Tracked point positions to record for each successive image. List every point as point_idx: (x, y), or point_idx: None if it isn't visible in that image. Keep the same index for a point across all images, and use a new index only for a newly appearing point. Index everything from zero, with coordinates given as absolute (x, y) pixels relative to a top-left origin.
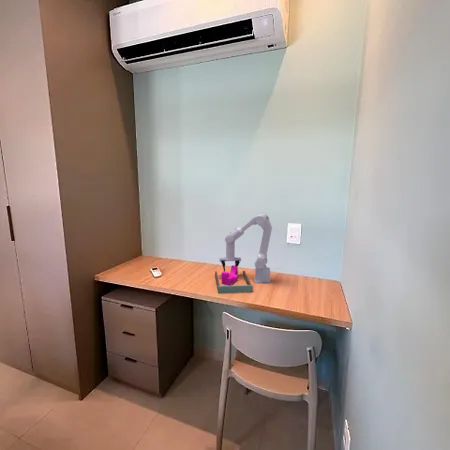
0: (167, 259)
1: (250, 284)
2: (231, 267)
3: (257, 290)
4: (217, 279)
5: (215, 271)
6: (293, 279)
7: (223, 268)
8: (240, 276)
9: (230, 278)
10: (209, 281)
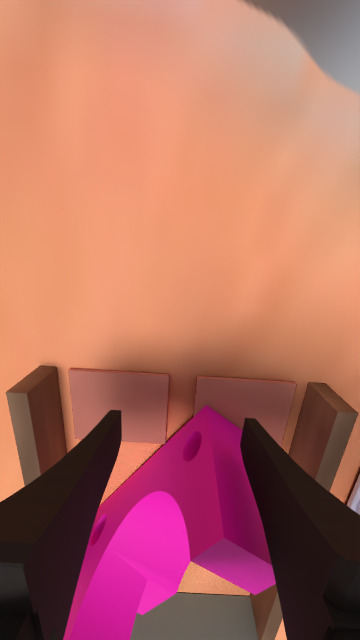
0: None
1: (273, 629)
2: (191, 538)
3: None
4: None
5: (13, 395)
6: None
7: (93, 432)
8: (272, 425)
9: (145, 607)
10: (5, 466)
